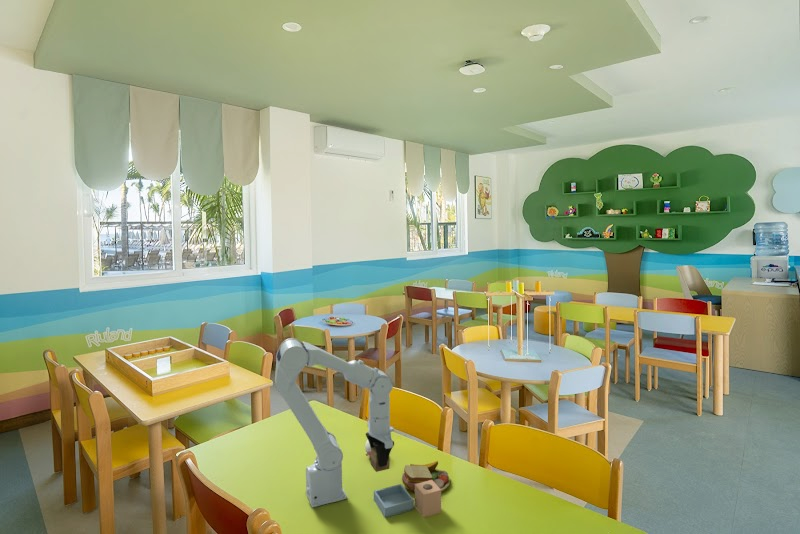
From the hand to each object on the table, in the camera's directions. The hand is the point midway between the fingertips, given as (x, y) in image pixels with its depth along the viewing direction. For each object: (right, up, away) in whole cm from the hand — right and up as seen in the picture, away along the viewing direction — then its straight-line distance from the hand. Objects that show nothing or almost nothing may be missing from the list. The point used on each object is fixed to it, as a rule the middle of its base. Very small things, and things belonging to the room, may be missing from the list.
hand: (379, 461), depth 127 cm
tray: (+4, -7, -9) cm, 12 cm away
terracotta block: (+13, -8, -11) cm, 18 cm away
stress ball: (-2, -5, +17) cm, 18 cm away
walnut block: (0, -2, 0) cm, 2 cm away
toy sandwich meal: (+13, -7, +1) cm, 15 cm away
